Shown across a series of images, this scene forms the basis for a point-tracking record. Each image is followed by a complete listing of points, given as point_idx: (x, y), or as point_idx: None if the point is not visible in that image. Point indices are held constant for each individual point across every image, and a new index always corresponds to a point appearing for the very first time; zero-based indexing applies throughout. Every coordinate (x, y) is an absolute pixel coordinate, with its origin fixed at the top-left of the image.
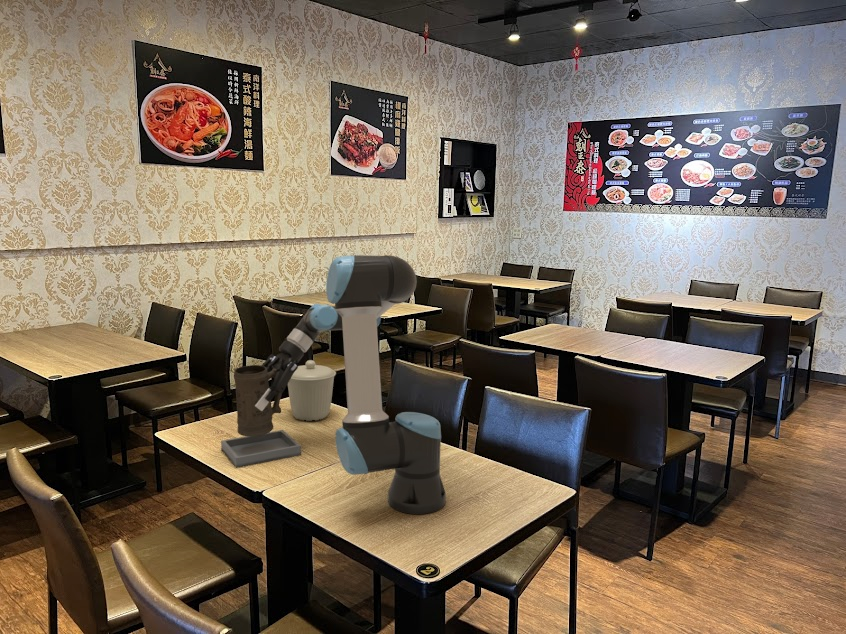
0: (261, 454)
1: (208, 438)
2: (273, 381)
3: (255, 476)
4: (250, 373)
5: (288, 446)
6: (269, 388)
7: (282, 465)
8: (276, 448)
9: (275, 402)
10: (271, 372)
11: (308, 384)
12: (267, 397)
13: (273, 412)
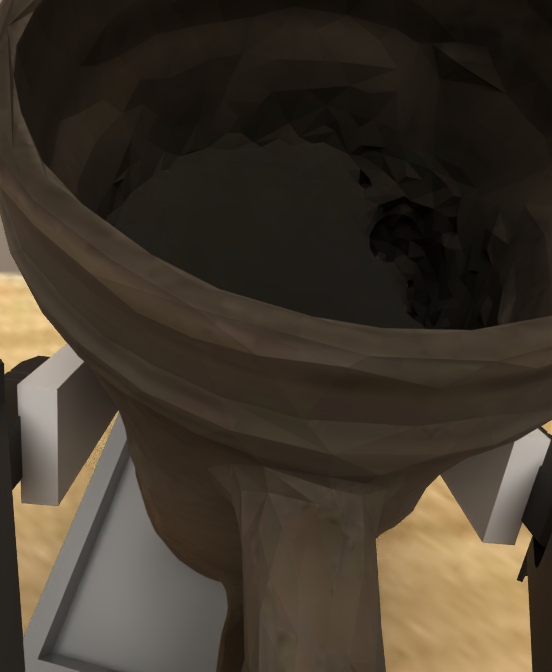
0: (116, 424)
1: (543, 427)
2: (9, 475)
3: (32, 340)
4: (549, 295)
5: (161, 667)
6: (147, 478)
7: (15, 490)
8: (190, 587)
9: (236, 646)
10: (276, 623)
11: None
12: (29, 365)
13: (227, 602)
